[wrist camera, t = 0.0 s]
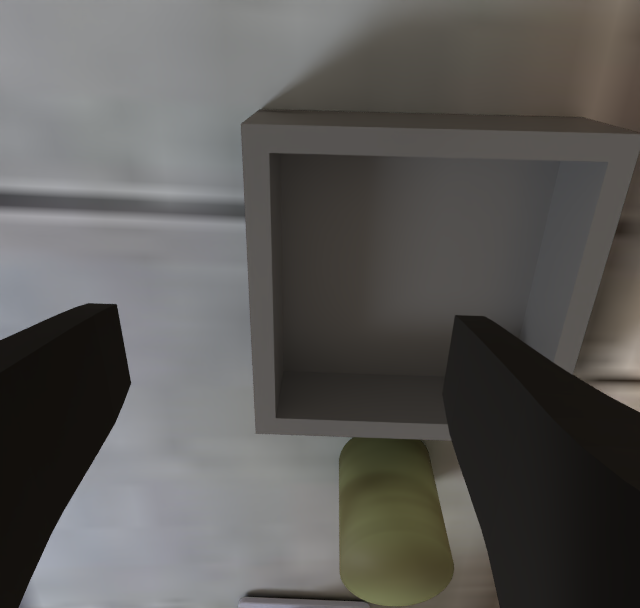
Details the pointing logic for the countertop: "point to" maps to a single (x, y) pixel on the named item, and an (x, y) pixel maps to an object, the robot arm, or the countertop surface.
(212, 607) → the countertop surface
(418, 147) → the bin
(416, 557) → the green cylinder
